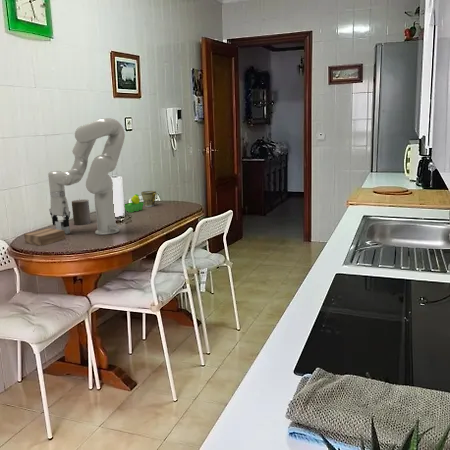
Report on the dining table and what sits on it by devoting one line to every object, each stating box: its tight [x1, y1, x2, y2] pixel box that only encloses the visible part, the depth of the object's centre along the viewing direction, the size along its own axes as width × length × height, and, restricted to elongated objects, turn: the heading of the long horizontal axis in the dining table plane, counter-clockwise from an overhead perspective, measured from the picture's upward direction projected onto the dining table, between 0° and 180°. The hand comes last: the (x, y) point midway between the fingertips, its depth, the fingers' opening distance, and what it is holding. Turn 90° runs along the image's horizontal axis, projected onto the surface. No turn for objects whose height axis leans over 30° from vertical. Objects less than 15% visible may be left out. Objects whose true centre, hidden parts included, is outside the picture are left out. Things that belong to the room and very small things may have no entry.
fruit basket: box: [124, 193, 144, 213], centre depth 321 cm, size 11×9×11 cm
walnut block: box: [23, 227, 67, 247], centre depth 252 cm, size 14×14×5 cm
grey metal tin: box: [54, 219, 71, 235], centre depth 267 cm, size 5×5×7 cm
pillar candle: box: [71, 198, 92, 226], centre depth 291 cm, size 10×10×15 cm
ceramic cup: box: [140, 190, 158, 208], centre depth 335 cm, size 13×10×10 cm
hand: (61, 225), depth 267 cm, fingers open, 9 cm apart
